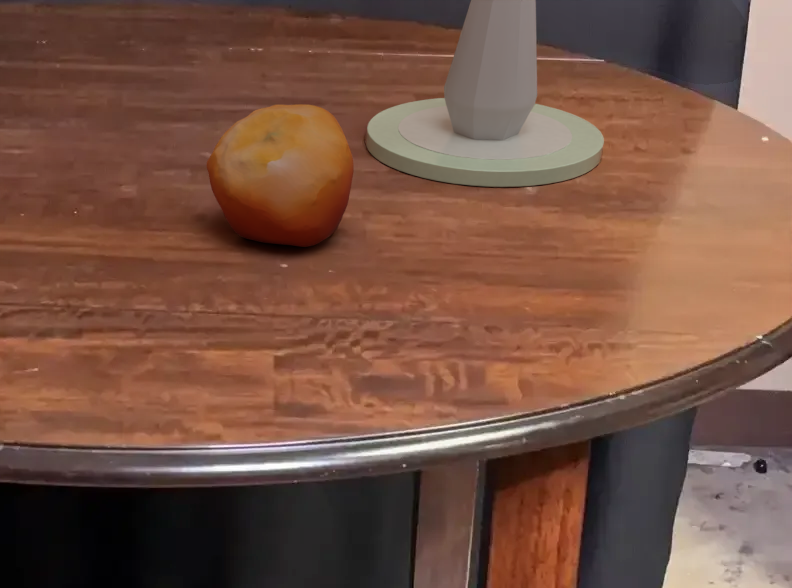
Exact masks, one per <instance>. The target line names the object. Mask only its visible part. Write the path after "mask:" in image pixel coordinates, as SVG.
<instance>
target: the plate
mask: <svg viewBox="0 0 792 588" xmlns="http://www.w3.org/2000/svg"><path fill="white" fill-rule="evenodd" d="M604 137H605V136H604V135H603V134H602V131H601V130H600V129H599V128H598V127H597V126H595V125H594V124H593V123H592V122H590V121H588V120H586V119H584V118H583V117H580V116H578V115H576V114H573V113H571V112H568V111H565V110H562V109H559V108H555V107H551V106H548V105H543V104H539V103H535V104H534V106H533V108H532V110H531V111H530V113H529V115H528V117H527V119H526V120H525V122H524V124H523V126H522V127H521V129H520V131H519V133H518V134H516V135H513V136H511V137H509V138H507V139H504V140H474V139H471V138H469V137H466V136H463V135H460V134H458V133H455V132H454V131H453V127H452V123H451V120H450V116H449V113H448V109H447V105H446V102H445V97H438V98H437V97H436V98H429V99H428V98H426V99H421V100H414V101H409V102H405V103H400V104H397V105H394V106H391V107H388V108H386V109H384V110H382V111H379V112H377V113H376V114H375V115H374V116H373V117H371V118H370V120H369V121H368V123H367V126H366V134H365V146H366V148H367V150H368V153H370V154H371V156H372V157H374V159H376V160H378V161H379V162H381V163H382V164H384V165H386V166H388V167H390V168H392V169H394V170H396V171H399V172H402V173H405V174H408V175H411V176H414V177H418V178H422V179H427V180H432V181H436V182H441V183H447V184H453V185H461V186H470V187H487V188H520V187H533V186H542V185H550V184H554V183H555V184H556V183H560V182H565V181H568V180H572V179H575V178H578V177H580V176H584V175H585V174H587V173H589V172H591V171H592V170H594V168H596V167H597V166H598V165H599V163H600V162H601V160H602V157H603V151H604V146H605V138H604Z"/></svg>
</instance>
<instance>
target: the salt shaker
mask: <svg viewBox="0 0 792 588" xmlns="http://www.w3.org/2000/svg"><path fill="white" fill-rule="evenodd" d="M465 15H466V16H465V18H464V22H463V24H462V27H461V32H460V35H459V38H458V40H457V44H456V47H455V50H454V53H453V57H452V60H451V64H450V66H449V70H448V73H447V77H446V79H445V83H444V86H443V96H444V97H443V98H445V102H446V105H447V109H448V113H449V116H450V120H451V123H452V127H453V131H454V132H455V133H458V134H460V135H463V136H466V137H469V138H471V139H474V140H504V139H507V138H509V137H511V136H513V135H516V134H518V133H519V131H520V129H521V127H522V126H523V124H524V122H525V120H526V119H527V117H528V115H529V113H530V111H531V110H532V108H533V106H534V104H536V101H537V97H538V62H537V61H538V58H537V57H538V55H537V49H538V48H537V0H470V2H469V6H468V9H467V12H466V14H465Z"/></svg>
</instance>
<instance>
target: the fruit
mask: <svg viewBox="0 0 792 588" xmlns="http://www.w3.org/2000/svg"><path fill="white" fill-rule="evenodd" d="M206 169H207V173H208V179H209V184H210V187H211V191H212V193H213V196H214V197H215V200H216V201H217V203H218V205H219V207H220V209H221V211H222V213H223V215H224V218H225V220H226V221H227V223H228V224H229V226H230V227H231V230H232V231H233V232H234V233H235V234H236V235H238V236H239V237H242V239H243V238H244V239H247V240H249V241H250V240H251V241H254V242H259V243H265V244H274V245H275V244H276V245H283V246H295V247H301V248H306V247H312V246H315V245H318V244H320V243H322V242H323V241H324V240H326V239H327V238H329V237H331V236H332V235H333V234H334V233H335V232H336V231H337V230H338V228H339V226H340V224H341V222H342V219H343V217H344V214H345V212H346V211H347V210H346V209H347V207H348V204H349V199H350V195H351V189H352V183H353V177H354V174H355V173H354V172H355V170H354V169H355V166H354V158H353V153H352V151H351V148H350V145H349V143H348V140H347V138H346V135H345V133H344V131H343V128H342V126H340V123H339V122H338V120H337V119H336V117H335V116H334V115H333V114H332V113H330V112H329V110H326V109H325V108H323V107H321V106H317V105H314V104H308V103H307V104H302V103H299V104H298V103H297V104H273V105H271V106H265V107H262V108H261V107H260V108H258V109H255V110H252V112H251V113H249V114H248V115H247V116H245V117H243V118H241V119H239V120H237V121H235V122H234V123H233V124H232V125H231V126H230V127H229V128H228V129H227V130H225V132H224V133H223V135H222V136H221V137H220V138H219V140H218V142H217V143H216V145H215V147H214V149H213V150H212V152H211V153H210V155H209V158H208V159H207V161H206Z"/></svg>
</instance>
